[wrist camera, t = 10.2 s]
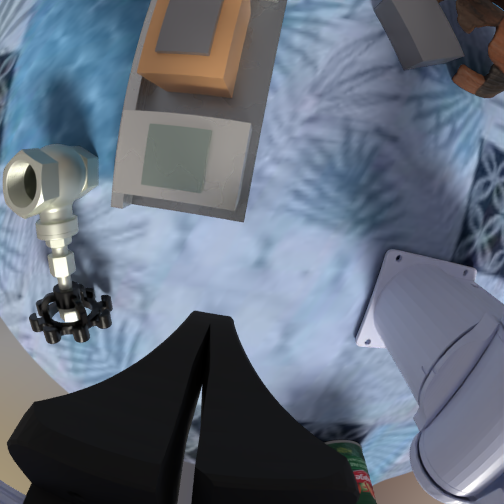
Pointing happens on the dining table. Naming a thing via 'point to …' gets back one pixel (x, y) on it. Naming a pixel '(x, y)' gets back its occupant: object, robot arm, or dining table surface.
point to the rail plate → (231, 106)
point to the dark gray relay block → (418, 32)
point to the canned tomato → (356, 468)
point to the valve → (57, 231)
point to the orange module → (195, 45)
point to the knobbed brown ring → (499, 49)
